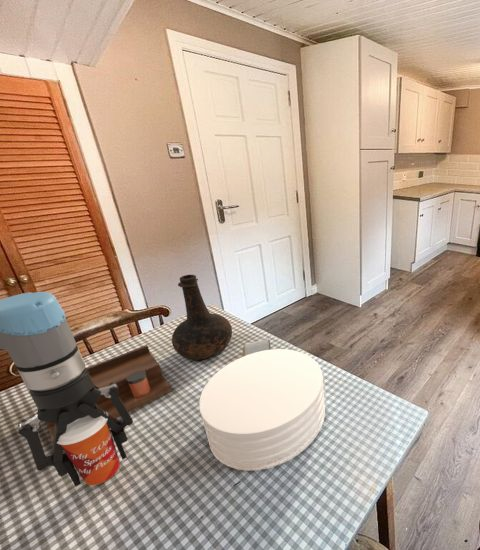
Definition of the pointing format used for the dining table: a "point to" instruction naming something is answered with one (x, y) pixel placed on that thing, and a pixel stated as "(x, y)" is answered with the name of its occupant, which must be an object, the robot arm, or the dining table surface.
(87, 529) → the dining table surface
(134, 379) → the small spice jar
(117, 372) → the spice rack
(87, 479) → the paper cup
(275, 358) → the plate stack
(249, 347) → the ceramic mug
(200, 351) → the glass bottle
